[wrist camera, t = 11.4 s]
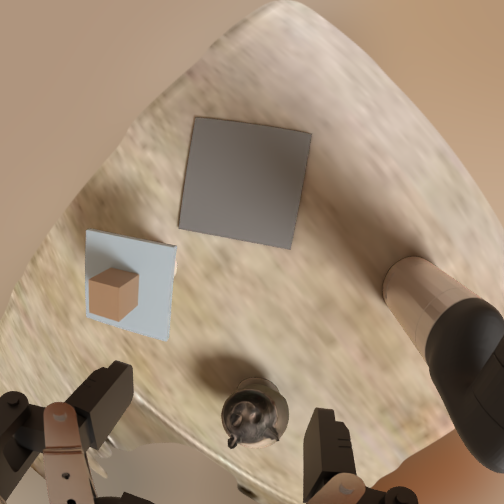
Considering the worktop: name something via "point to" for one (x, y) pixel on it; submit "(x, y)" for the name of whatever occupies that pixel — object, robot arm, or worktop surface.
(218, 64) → the worktop surface
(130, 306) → the lid
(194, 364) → the worktop surface
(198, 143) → the mat
